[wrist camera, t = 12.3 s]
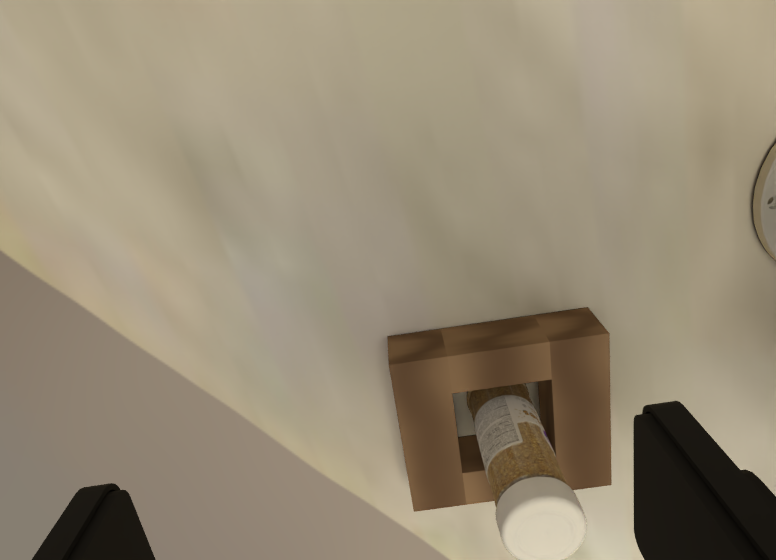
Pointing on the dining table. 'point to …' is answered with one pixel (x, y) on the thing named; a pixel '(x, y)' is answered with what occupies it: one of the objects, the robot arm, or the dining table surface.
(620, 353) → the dining table surface
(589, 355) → the socket board
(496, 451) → the sprinkles bottle
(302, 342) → the dining table surface
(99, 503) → the robot arm
